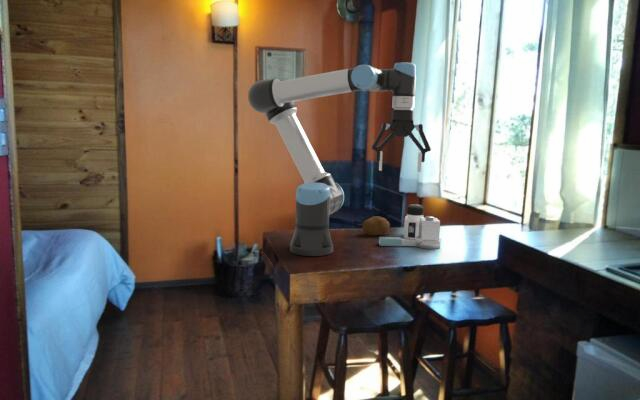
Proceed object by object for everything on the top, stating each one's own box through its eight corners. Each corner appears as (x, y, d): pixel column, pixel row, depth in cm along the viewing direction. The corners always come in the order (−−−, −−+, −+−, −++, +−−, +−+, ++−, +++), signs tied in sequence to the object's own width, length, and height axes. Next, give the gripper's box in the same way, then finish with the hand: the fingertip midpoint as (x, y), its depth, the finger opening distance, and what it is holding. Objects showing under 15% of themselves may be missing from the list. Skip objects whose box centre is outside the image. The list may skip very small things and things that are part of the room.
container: (423, 240, 202) (425, 207, 200) (403, 238, 204) (405, 206, 202) (423, 235, 210) (425, 204, 208) (404, 234, 211) (406, 203, 209)
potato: (357, 234, 209) (358, 215, 208) (381, 231, 216) (382, 213, 214) (369, 238, 202) (370, 219, 201) (394, 235, 209) (395, 216, 208)
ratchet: (380, 247, 189) (381, 227, 188) (378, 241, 198) (379, 222, 197) (442, 249, 188) (443, 229, 187) (437, 243, 197) (438, 224, 196)
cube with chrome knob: (421, 240, 189) (422, 218, 188) (418, 236, 196) (419, 214, 194) (438, 240, 189) (440, 218, 188) (435, 236, 195) (436, 215, 194)
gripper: (367, 108, 174) (364, 171, 177) (441, 110, 173) (437, 173, 177) (365, 108, 181) (363, 168, 185) (437, 110, 181) (433, 170, 184)
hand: (399, 171), depth 181 cm, fingers open, 13 cm apart
